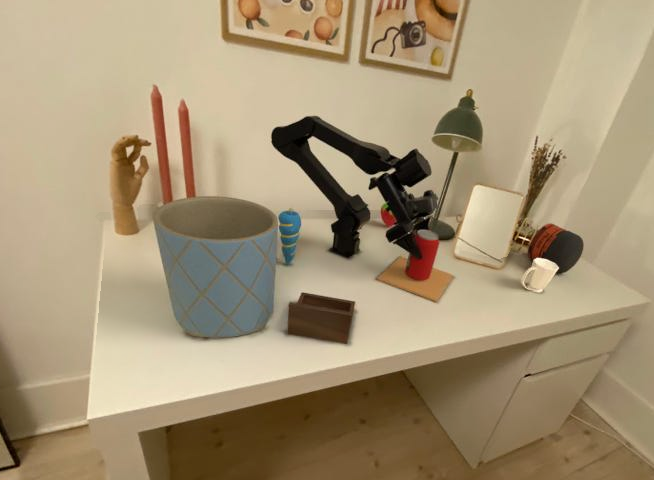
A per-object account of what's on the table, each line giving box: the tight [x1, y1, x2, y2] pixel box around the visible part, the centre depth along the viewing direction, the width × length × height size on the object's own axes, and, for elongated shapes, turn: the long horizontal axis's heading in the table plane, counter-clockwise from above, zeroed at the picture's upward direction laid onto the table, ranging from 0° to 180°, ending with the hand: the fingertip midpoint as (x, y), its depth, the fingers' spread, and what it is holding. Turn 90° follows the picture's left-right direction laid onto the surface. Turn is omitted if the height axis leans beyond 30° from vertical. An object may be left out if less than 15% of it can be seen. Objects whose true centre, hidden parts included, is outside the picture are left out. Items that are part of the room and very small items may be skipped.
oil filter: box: [527, 222, 585, 275], centre depth 118 cm, size 13×12×13 cm
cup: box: [520, 258, 559, 293], centre depth 104 cm, size 7×10×8 cm
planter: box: [152, 195, 279, 339], centre depth 68 cm, size 19×19×20 cm
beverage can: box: [405, 230, 440, 281], centre depth 96 cm, size 7×7×12 cm
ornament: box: [277, 206, 302, 266], centre depth 89 cm, size 5×5×15 cm
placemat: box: [377, 256, 454, 303], centre depth 100 cm, size 16×16×1 cm
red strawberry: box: [380, 202, 396, 227], centre depth 123 cm, size 6×7×10 cm
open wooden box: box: [287, 291, 356, 345], centre depth 75 cm, size 12×12×7 cm
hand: (426, 252), depth 95 cm, fingers open, 9 cm apart
